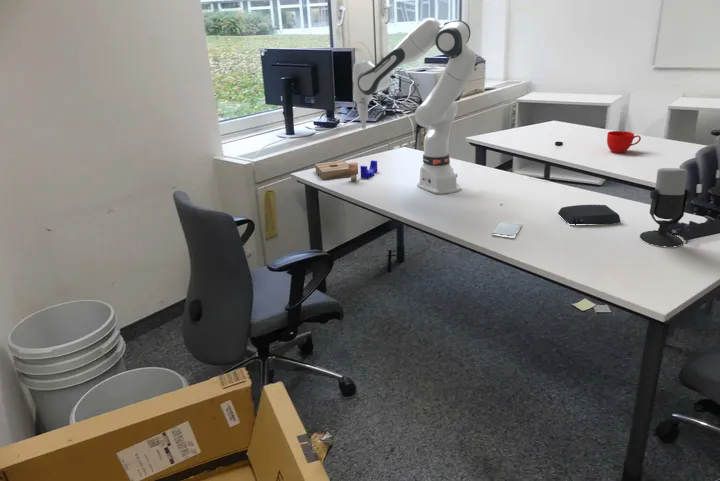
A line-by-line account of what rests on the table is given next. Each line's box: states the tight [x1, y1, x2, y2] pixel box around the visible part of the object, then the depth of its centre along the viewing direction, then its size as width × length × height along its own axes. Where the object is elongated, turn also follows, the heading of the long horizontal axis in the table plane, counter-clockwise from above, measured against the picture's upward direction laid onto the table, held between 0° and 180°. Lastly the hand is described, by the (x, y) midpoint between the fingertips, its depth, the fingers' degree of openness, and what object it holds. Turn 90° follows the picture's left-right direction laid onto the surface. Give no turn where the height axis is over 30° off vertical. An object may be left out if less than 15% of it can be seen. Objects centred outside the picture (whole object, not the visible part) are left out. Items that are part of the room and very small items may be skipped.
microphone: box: [639, 167, 693, 247], centre depth 169 cm, size 13×13×25 cm
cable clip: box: [359, 159, 378, 179], centre depth 258 cm, size 12×4×6 cm, turn 150°
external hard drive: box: [557, 204, 621, 225], centre depth 193 cm, size 13×19×4 cm
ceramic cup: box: [606, 130, 642, 154], centre depth 275 cm, size 13×17×10 cm
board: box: [314, 160, 351, 180], centre depth 264 cm, size 16×16×4 cm
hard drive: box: [491, 221, 523, 236], centre depth 187 cm, size 2×8×12 cm
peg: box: [348, 161, 359, 182], centre depth 250 cm, size 5×5×8 cm
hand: (363, 126), depth 245 cm, fingers open, 8 cm apart
